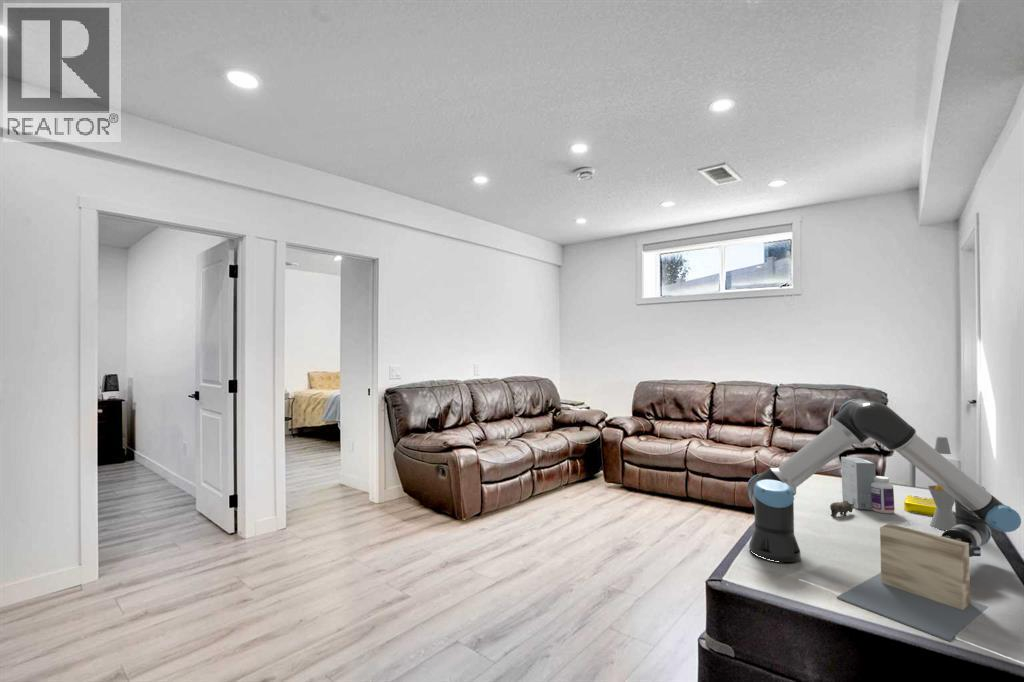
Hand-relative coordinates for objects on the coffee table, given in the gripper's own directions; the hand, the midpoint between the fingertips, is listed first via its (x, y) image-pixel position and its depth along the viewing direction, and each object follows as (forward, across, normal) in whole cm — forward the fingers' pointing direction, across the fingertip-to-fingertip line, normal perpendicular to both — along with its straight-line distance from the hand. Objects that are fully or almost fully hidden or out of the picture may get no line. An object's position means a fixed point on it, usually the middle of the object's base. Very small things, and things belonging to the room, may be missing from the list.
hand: (932, 556), depth 139 cm
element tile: (-86, +27, -10) cm, 91 cm away
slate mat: (+16, 0, -9) cm, 18 cm away
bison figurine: (-48, +44, -9) cm, 66 cm away
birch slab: (+7, 0, -8) cm, 11 cm away
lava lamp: (-65, +16, -9) cm, 68 cm away
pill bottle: (-68, +37, -9) cm, 78 cm away
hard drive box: (-69, +47, -9) cm, 84 cm away
